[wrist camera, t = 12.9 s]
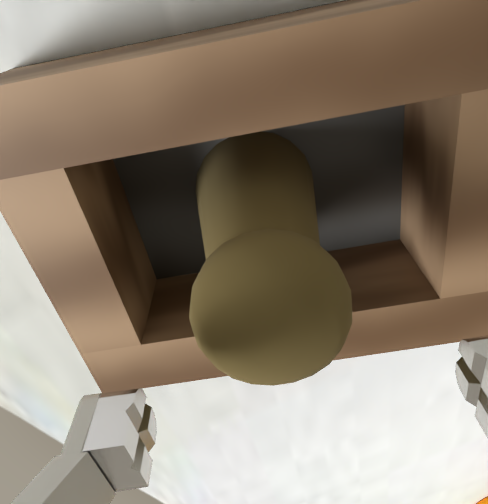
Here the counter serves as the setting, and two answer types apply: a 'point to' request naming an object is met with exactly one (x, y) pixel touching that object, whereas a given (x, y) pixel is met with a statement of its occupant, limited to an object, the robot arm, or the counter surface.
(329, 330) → the cork
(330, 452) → the counter surface
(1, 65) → the counter surface
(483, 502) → the beer bottle
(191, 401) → the counter surface
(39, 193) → the well block
